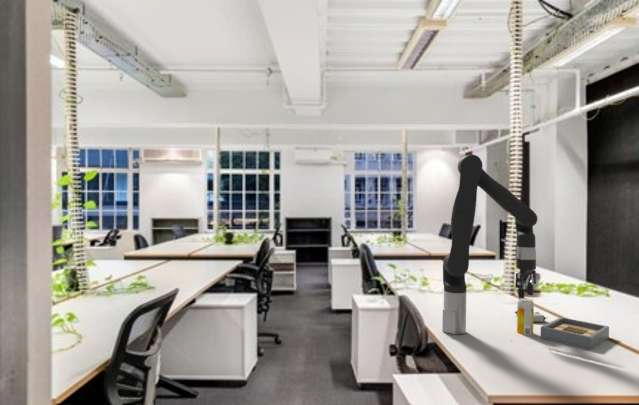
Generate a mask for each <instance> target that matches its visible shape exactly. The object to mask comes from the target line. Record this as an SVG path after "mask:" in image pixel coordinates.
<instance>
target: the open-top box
mask: <svg viewBox="0 0 639 405" xmlns="http://www.w3.org/2000/svg"><path fill="white" fill-rule="evenodd" d="M562 323H564V324H569V325H573V326H578V327H583V328H588V329H593V330H598V331H597V332H595V333H593V334H592V335H590V336H585V335H580V334H575V333H571V332H566V331H562V330H557V329H552V328H554V327H556V326H558V325H560V324H562ZM609 338H610V326H608V325H603V324H597V323H593V322H588V321H582V320H577V319H574V318H573V319H572V318H567V317H558V318H556V319H555V320H552V321H550V322H548V323H546V324H544V325H542V326H540V339H544V340H547V341H550V342H551V341H552V342H555V343H556V342H557V343H559V344H565V345H569V346H573V347H577V348H580V349H581V348H582V349H586V350H589V351H591V350H593V349H595V348H596V347H598V346H599V345H601V344H602V343H604V342H605V341H606V340H608V339H609Z"/></svg>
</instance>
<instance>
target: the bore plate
mask: <svg viewBox="0 0 639 405" xmlns="http://www.w3.org/2000/svg"><path fill="white" fill-rule="evenodd" d="M552 329H557V330H562V331H566V332H571V333H575V334H580V335H585V336H590V335H592V334H593V333H595V332H597V331H598V330H593V329H588V328H583V327H578V326H573V325H569V324H564V323H562V324H560V325H558V326H556V327H554V328H552Z"/></svg>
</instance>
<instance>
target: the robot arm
mask: <svg viewBox="0 0 639 405" xmlns="http://www.w3.org/2000/svg"><path fill="white" fill-rule="evenodd" d="M483 166H484V165H483V161H482V159H481V158H480V157H479V156H478V155H476V154H467V155H465V156H463V157H462V158H461V159H460V160H459V161H458V163H457V171H458V172H459V173H458V174H459V184H458V189H457V192H456V196H455V198H454V200H453V206H452V211H451V218H450V230H451V231H450V233H451V245H450V246H451V247H450V251H449V253H448V254H446V255H445V256H444V258H443V261H442V282H443V283H442V284H443V309H442V328H441V329H442V332H443V333H447V334H450V335H463V334H466V333H467V283H466V278H465V276H466V275H465V274H467V272H468V270H469V266H470V246H471V238H472V235H473V230H474V224H475V216H476V210H477V208H476V207H477V197H478V196H477V195H478V194H477V193H478V187H479V188H480V189H481V190H483V191H484V192H485V193H486V194H487V196H489V198H491V199H492V200H493V201H494V202H495V203H497V204H496V205H498V206H500V208H502V209H503V210H504V211H505V212H506V213H509V214H510V215H511V216H512V217H513V218H515V219H514V222H515V229H516V230H515V231H516V251H515V253H516V254H515V267H516V269H517V270H519V272H515V288H516V289H518V290H517V291H518V293H517V294H518V295H517V297H518V299H519V298H526V297H525V296H526V295H525V291H526V294H527V295H528V296H533V295H534V286H535V285H536V284H537V274H536V272H537V270H536V269H537V250H536V235H535V233H534V228H533V226H535V225H536V224H537V223H538V215H537V214H536V212H535V211H534V210H532V208H530V207H529V206H528V205H526V204H525V203H523V202H522V201H521V200H519V199H518V197H517V196H516V195H515V194H514V193H512V192H511V191H510V190H509V189H508V188H507V187H505V186H504V185H502V184H501V183H499V182H498V181H496V180H495V179H494V178H493V177H491V176H490V175H489V174H488V173H487V172H486V171H485V169H484V168H483ZM525 287H526V290H525Z"/></svg>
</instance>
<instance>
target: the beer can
mask: <svg viewBox="0 0 639 405" xmlns="http://www.w3.org/2000/svg"><path fill="white" fill-rule="evenodd" d="M534 303H535V302H534V301H533V299H532V298H528V297H524V298H519V297H518V300H517V307H516V308H517V309H516V311H517V315H516V318H517V319H516V322H517V323H516V333H517V334H519V335H523V336H533V335H534V322H533V312H535V311H534V310H535V309H534V308H535V307H534Z"/></svg>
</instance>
